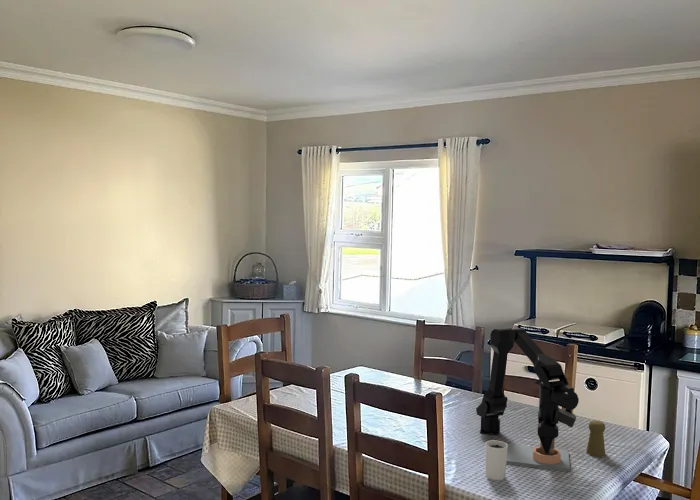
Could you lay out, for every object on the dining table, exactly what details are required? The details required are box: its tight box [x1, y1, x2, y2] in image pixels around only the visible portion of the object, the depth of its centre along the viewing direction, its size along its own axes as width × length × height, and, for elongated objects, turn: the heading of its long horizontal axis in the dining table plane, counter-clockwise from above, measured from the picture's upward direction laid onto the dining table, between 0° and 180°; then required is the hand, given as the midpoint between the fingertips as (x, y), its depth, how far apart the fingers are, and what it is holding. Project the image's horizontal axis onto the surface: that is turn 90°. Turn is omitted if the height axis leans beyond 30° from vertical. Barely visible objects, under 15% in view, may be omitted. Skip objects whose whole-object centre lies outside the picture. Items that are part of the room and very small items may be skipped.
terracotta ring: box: [533, 445, 561, 464], centre depth 206 cm, size 8×8×2 cm
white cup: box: [484, 439, 508, 481], centre depth 194 cm, size 7×7×10 cm
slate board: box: [506, 443, 571, 473], centre depth 209 cm, size 20×16×1 cm
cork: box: [586, 419, 606, 458], centre depth 213 cm, size 6×6×11 cm
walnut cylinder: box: [539, 438, 556, 456], centre depth 205 cm, size 4×4×8 cm
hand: (546, 448), depth 206 cm, fingers open, 9 cm apart
